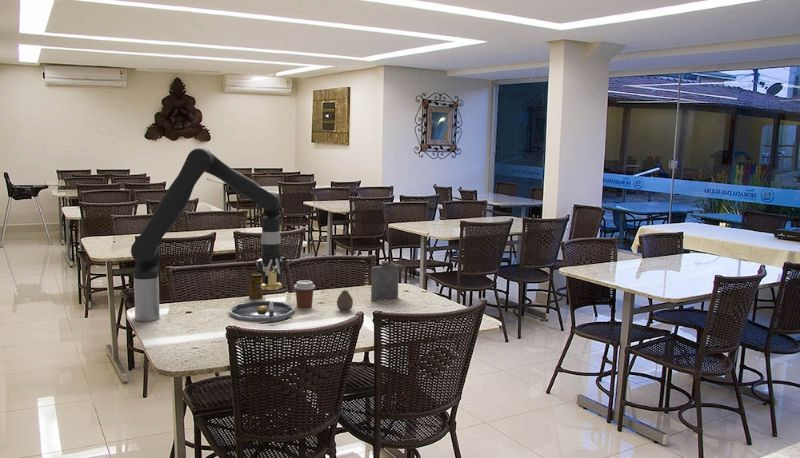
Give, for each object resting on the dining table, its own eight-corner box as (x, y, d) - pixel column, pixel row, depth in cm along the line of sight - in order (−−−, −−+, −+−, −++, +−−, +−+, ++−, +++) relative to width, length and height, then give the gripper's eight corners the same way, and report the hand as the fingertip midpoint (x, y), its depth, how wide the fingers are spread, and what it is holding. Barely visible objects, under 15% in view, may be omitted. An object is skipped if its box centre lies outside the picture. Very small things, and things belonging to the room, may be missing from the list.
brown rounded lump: (355, 310, 284) (356, 291, 283) (344, 313, 279) (344, 293, 278) (345, 307, 289) (345, 288, 287) (333, 310, 284) (333, 290, 282)
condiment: (263, 298, 301) (263, 272, 299) (264, 302, 293) (263, 276, 291) (247, 298, 300) (247, 273, 298) (247, 303, 291) (247, 277, 290)
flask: (369, 300, 303) (369, 261, 300) (394, 296, 311) (395, 259, 308) (373, 301, 300) (373, 263, 297) (399, 298, 308) (400, 260, 305)
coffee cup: (289, 309, 283) (289, 282, 281) (302, 305, 291) (302, 278, 289) (306, 312, 279) (307, 285, 277) (319, 308, 287) (319, 281, 285)
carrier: (218, 313, 274) (218, 297, 273) (271, 303, 292) (271, 288, 291) (251, 327, 255) (251, 310, 254) (305, 316, 273) (305, 300, 272)
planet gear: (256, 287, 267) (256, 271, 266) (274, 284, 272) (274, 269, 271) (268, 291, 261) (268, 275, 260) (285, 287, 266) (285, 272, 266)
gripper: (280, 239, 271) (280, 279, 274) (250, 242, 262) (251, 284, 264) (291, 241, 266) (291, 282, 269) (260, 245, 256) (261, 287, 259)
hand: (271, 283), depth 266 cm, fingers closed on planet gear, 4 cm apart
